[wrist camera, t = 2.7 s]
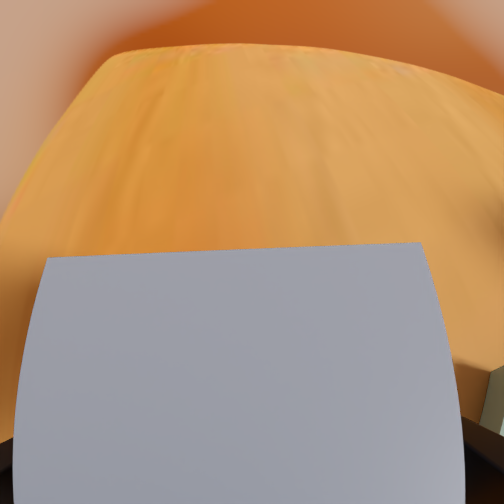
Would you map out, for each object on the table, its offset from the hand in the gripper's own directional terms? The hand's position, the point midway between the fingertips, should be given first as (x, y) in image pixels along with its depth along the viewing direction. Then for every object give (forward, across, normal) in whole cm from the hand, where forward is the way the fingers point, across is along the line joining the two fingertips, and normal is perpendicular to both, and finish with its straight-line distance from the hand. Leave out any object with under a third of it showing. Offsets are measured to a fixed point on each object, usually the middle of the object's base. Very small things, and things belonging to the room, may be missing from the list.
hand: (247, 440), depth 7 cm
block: (+5, 0, +5) cm, 7 cm away
